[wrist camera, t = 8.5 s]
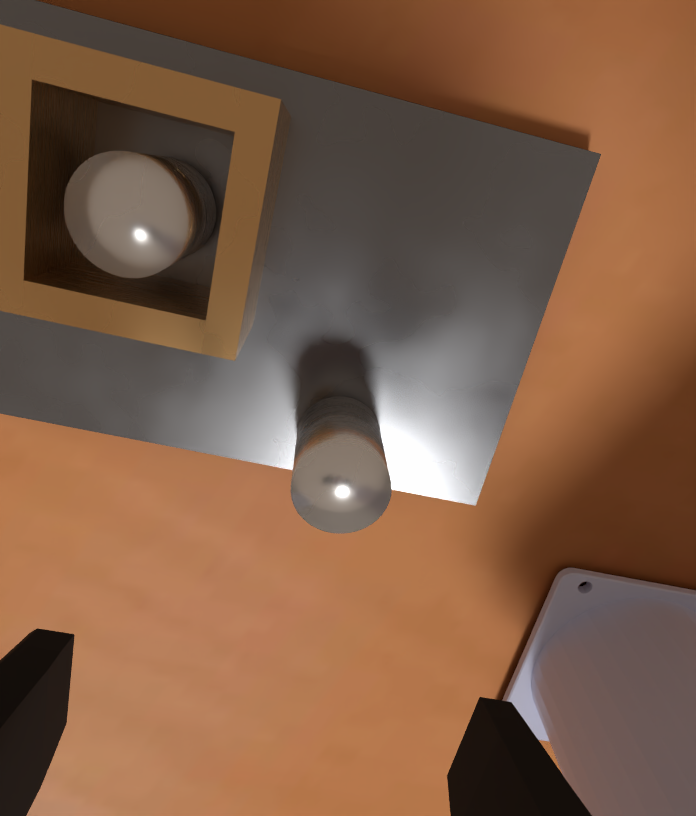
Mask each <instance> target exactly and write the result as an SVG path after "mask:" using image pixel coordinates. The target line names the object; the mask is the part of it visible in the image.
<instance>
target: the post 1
mask: <svg viewBox="0 0 696 816" xmlns="http://www.w3.org/2000/svg"><path fill="white" fill-rule="evenodd" d="M64 215H65V221H66V224H67V228H68V230H69V233H70V235H71V237H72V239H73V241H74V243H75V244H76V246H77V247H78V249H79V250H80V251H81V252H82V254H83V255H84V256H85V257H86V258H87V259H88V260H89V261H90V262H92V263H93V264H94V265H96V266H97V267H99V268H100V269H102V270H104V271H106V272H108V273H110V274H113V275H116V276H120V277H125V278H143V277H147V276H151V275H154V274H156V273H159V272H160V271H162V270H164V269H166V268H167V267H169V266H171V265H173V264H174V263H176V262H178V261H180V260H182V259H183V258H185V257H187V256H189V255H190V254H192V253H194V252H196V251H197V250H198V249H200V248H201V247H202V246H203V245H204V244H205V243H206V242H207V240H208V239H209V237H210V235H211V233H212V231H213V228H214V225H215V220H216V205H215V200H214V197H213V193H212V191H211V189H210V187H209V185H208V183H207V182H206V180H205V179H204V178H203V176H202V175H201V174H200V173H199V172H198V171H197V170H196V169H195V168H193V167H192V166H191V165H189V164H187V163H186V162H184V161H182V160H179V159H176V158H172V157H167V156H159V155H151V154H144V153H136V152H128V151H108V152H104V153H100V154H97V155H95V156H93V157H91V158H89V159H88V160H86V161H85V162H84V163H82V164H81V165H80V166H79V167H78V168H77V170H76V171H75V172H74V174H73V175H72V177H71V178H70V181H69V183H68V185H67V188H66V192H65V198H64Z"/></svg>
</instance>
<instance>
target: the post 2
mask: <svg viewBox="0 0 696 816" xmlns="http://www.w3.org/2000/svg"><path fill="white" fill-rule="evenodd" d="M391 489H392V487H391V479H390V475H389V470H388V465H387V461H386V456H385V451H384V446H383V442H382V437H381V432H380V427H379V423H378V421H377V418H376V417H375V415H374V413H373V412H372V411H371V410H370V409H369V408H368V407H367V406H366V405H365V404H363V403H362V402H360V401H358V400H356V399H353V398H349V397H343V396H335V397H329V398H325V399H322V400H320V401H318V402H316V403H315V404H313V405H312V406H311V407H309V408H308V409H307V411H306V412H305V413H304V414H303V416H302V417H301V420H300V422H299V425H298V430H297V438H296V446H295V455H294V463H293V472H292V481H291V497H292V501H293V504H294V506H295V508H296V510H297V512H298V513H299V515H300V516H301V517H302V518H303V519H304V520H305V521H306V522H307V523H309V524H310V525H312V526H314V527H315V528H317V529H320V530H323V531H326V532H330V533H351V532H355V531H358V530H361V529H363V528H366V527H368V526H369V525H371V524H372V523H374V522H375V521H376V520H377V519H378V518H379V517H380V516H381V515H382V514H383V512H384V511H385V509H386V508H387V506H388V503H389V501H390V497H391Z"/></svg>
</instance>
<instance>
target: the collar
mask: <svg viewBox="0 0 696 816" xmlns="http://www.w3.org/2000/svg"><path fill="white" fill-rule="evenodd" d="M98 101H99V102H102V103H106V104H110V105H114V106H118V107H122V108H126V109H130V110H134V111H137V112H141V113H145V114H149V115H153V116H157V117H161V118H165V119H169V120H172V121H176V122H180V123H184V124H188V125H192V126H196V127H200V128H203V129H207V130H211V131H215V132H219V133H223V134H227V135H231V136H234V141H233V147H232V154H231V160H230V167H229V173H228V180H227V186H226V193H225V199H224V206H223V212H222V219H221V225H220V232H219V238H218V245H217V251H216V258H215V264H214V271H213V277H212V284H211V287H206V286H202V285H197V284H193V283H189V282H184V281H180V280H175V279H171V278H167V277H162V276H158V275H151V276H147V277H143V278H125V277H120V276H116V275H113V274H110V273H108V272H106V271H104V270H102V269H100V268H99V267H97V266H96V265H94V264H93V263H92V262H90V261H89V260H87V259H86V257H85V256H84V255H83V254H82V252H81V251H80V250H79V249H78V247H77V246H76V244H75V243H74V241H73V239H72V237H71V235H70V233H69V230H68V228H67V224H66V221H65V215H64V198H65V192H66V188H67V185H68V183H69V181H70V178H71V177H72V175H73V174H74V172H75V171H76V170H77V168H78V167H79V166H80V165H81V164H82V163H84V162H85V161H86V160H88V159H89V158H91V157H93V156H94V146H95V133H96V120H97V107H98ZM290 120H291V115H290V114H289V112H288V110H287V109H286V107H285V105H284V103H283V102H282V100H281V99H278V98H274V97H270V96H267V95H263V94H259V93H255V92H252V91H248V90H244V89H240V88H237V87H233V86H229V85H225V84H222V83H218V82H214V81H210V80H207V79H203V78H199V77H196V76H192V75H188V74H184V73H181V72H177V71H173V70H169V69H166V68H162V67H158V66H154V65H151V64H147V63H143V62H139V61H136V60H132V59H128V58H124V57H121V56H117V55H113V54H109V53H106V52H102V51H98V50H94V49H91V48H87V47H83V46H79V45H76V44H72V43H68V42H64V41H61V40H57V39H53V38H49V37H46V36H42V35H38V34H34V33H31V32H27V31H23V30H19V29H16V28H12V27H8V26H4V25H1V24H0V311H3V312H8V313H13V314H17V315H22V316H27V317H32V318H36V319H41V320H46V321H50V322H55V323H60V324H64V325H69V326H74V327H78V328H83V329H88V330H92V331H97V332H102V333H106V334H111V335H116V336H120V337H125V338H130V339H134V340H139V341H144V342H149V343H153V344H158V345H163V346H167V347H172V348H177V349H181V350H186V351H191V352H195V353H200V354H205V355H209V356H214V357H219V358H223V359H228V360H233V361H235V360H236V358H237V356H238V354H239V352H240V350H241V348H242V346H243V344H244V342H245V340H246V338H247V336H248V334H249V332H250V330H251V328H252V326H253V322H254V317H255V311H256V306H257V300H258V295H259V289H260V284H261V278H262V273H263V268H264V262H265V257H266V251H267V246H268V240H269V235H270V229H271V224H272V218H273V213H274V207H275V202H276V196H277V191H278V186H279V180H280V175H281V169H282V164H283V158H284V153H285V147H286V142H287V136H288V131H289V125H290Z"/></svg>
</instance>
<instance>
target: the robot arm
mask: <svg viewBox="0 0 696 816" xmlns="http://www.w3.org/2000/svg"><path fill="white" fill-rule="evenodd" d="M582 582H587V583H586V584H585V585H583V586H579V585H580V584H581V583H582ZM73 645H74V634H69V633H63V632H56V631H50V630H43V629H36V630H34V631H32V632H31V633H29V634H28V635H27V636H26V637H25V638H24V639H23V640H22V641H21V642H20V643H19V644H17V645H16V646H15V647H14V648H13V649H12V650H11V651H10V652H9V653H8V654H7V655H6V656H4V657H3V658H2V659H1V660H0V816H26V815H27V813H28V811H29V809H30V807H31V805H32V803H33V801H34V799H35V797H36V795H37V793H38V791H39V789H40V787H41V785H42V782H43V780H44V778H45V775H46V773H47V770H48V768H49V766H50V763H51V761H52V758H53V756H54V753H55V751H56V748H57V746H58V743H59V741H60V738H61V736H62V733H63V731H64V728H65V726H66V723H67V712H68V701H69V690H70V678H71V667H72V656H73ZM539 740H544V741H550V744H551V746H552V749H553V751H554V754H555V756H556V759H557V761H558V764H559V766H560V769H561V772H562V773H561V772H560V770H559V769H558V768H557V766H556V765H555V763H554V762H553V760H552V759H551V758H550V756H549V755H548V753H547V752H546V751H545V749H544V748H543V746H542V745H541V743H540V742H539ZM562 774H563V775H562ZM447 779H448V790H449V801H450V812H451V816H696V590H691V589H686V588H680V587H675V586H669V585H664V584H659V583H653V582H648V581H642V580H637V579H631V578H626V577H621V576H615V575H610V574H604V573H599V572H594V571H588V570H583V569H577V568H566V569H563V570H561V571H560V572H559V573H558V574H557V576H556V577H555V579H554V582H553V584H552V586H551V589H550V591H549V593H548V596H547V598H546V600H545V603H544V605H543V607H542V609H541V612H540V614H539V616H538V619H537V621H536V623H535V626H534V628H533V630H532V633H531V635H530V637H529V639H528V642H527V644H526V646H525V649H524V651H523V653H522V656H521V658H520V660H519V663H518V665H517V667H516V669H515V672H514V674H513V676H512V679H511V681H510V683H509V686H508V688H507V690H506V693H505V695H504V697H503V699H502V700H495V699H489V698H482V697H480V698H479V700H478V703H477V705H476V707H475V710H474V712H473V715H472V717H471V719H470V722H469V724H468V727H467V729H466V731H465V734H464V736H463V739H462V741H461V744H460V746H459V748H458V751H457V753H456V756H455V758H454V760H453V763H452V765H451V768H450V770H449V772H448V775H447Z"/></svg>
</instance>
